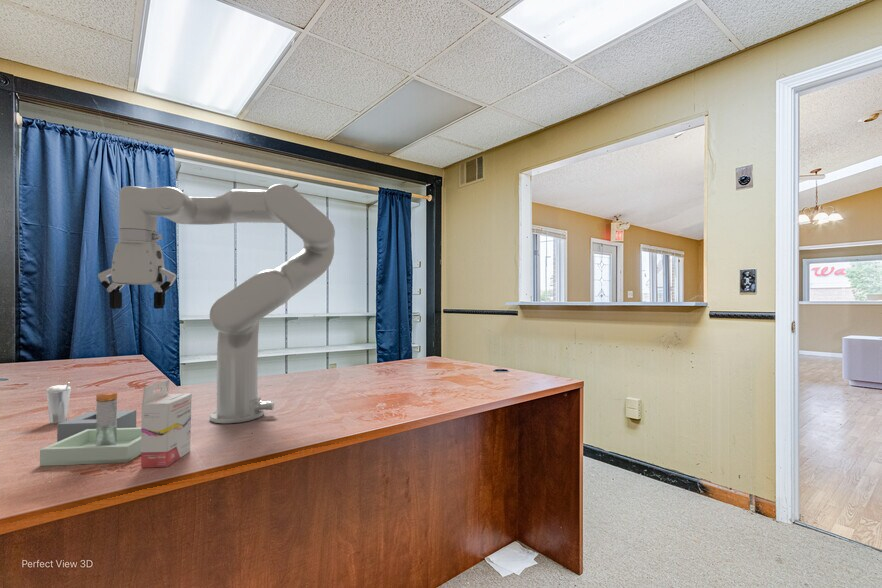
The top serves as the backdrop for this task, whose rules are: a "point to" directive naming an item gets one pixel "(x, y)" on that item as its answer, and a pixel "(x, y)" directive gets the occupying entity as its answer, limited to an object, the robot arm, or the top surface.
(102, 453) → the tray
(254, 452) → the top surface
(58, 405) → the milkshake
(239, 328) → the robot arm
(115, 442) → the pin
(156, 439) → the ink cartridge box
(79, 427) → the socket block
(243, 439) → the top surface
